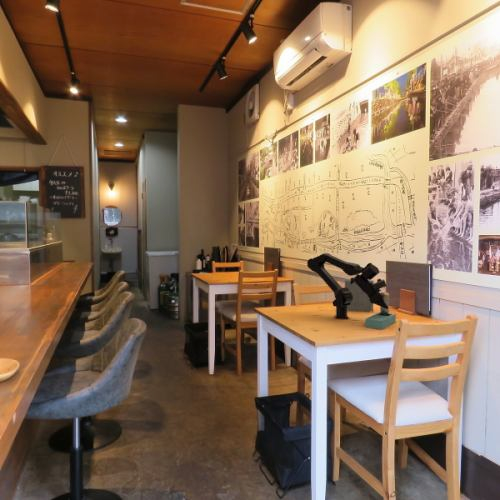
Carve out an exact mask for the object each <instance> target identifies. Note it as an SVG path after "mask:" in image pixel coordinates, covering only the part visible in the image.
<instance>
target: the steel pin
mask: <svg viewBox="0 0 500 500" xmlns="http://www.w3.org/2000/svg"><path fill="white" fill-rule="evenodd" d="M380 293H381V294H382V299H383V301H384V302H385V303H386V305H387V306H388V309H385V308H383V307H381V306H379V308H380V311H379V312H380V315H383V316H389V313H390V312H389V311H390V293H389V292H387V291H385V292H384V291H380Z"/></svg>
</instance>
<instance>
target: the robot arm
mask: <svg viewBox="0 0 500 500" xmlns="http://www.w3.org/2000/svg"><path fill="white" fill-rule="evenodd" d="M326 263H328V264H329V265H333V266H335V267H336V268H338V269H340V270H341V271H343V273H345V274H346V275H347V276H350V277H351V278H350V279H349V280H351V283H350V284H352V283H354V282H355V283H356V284H357V285H358V286H359V287H360V288H361V289H362V291H363V292H365V293H366V295H367V296H368V297H369V298H370V302H371V303H372V304H373V305H376V306H379V307H380V306H381V307H383V308H385V309H388V306H387V305H386V303H385V302H384V301H383V299H382V294H381V292H382V289H383V288H386V287H387V286H388V285H387V283H386V281H385V279H381V278H377V280H376V282H374V284H373V283H372V282H370V281H369V280H373V279H374V278H375V277H377V276H378V275H379V274H380V269H379V268H378V266H376V265H374V264H373V263H372V262H368V263H367V264H366V265H365V266H364V267H362V266H361V265H360V264H358V263H354V262H348V261H345V260H343V259H341V258H338V257H337V256H334V255H333V254H330V253H328V252H327V253H326V252H325V253H322V254H320V255H317V256H316V257H313V258H309V259H307V262H306V264H307V265H306V266H307V268H308V269H310V271H312V272H314V273H315V274H317V275H318V276H319V277H320V278H321V279H322V280H323V281H324V283H325V284H326V285H327V287H328V288H329V289H331V292H333V295H334V298H335V299H334V300H333V301H332V306H333V307H336V308H335V314H334V317H335V319H349V316H348V311H347V306H348V305H350V303H351V302H352V300H353V295H352V294H351V293H352V292H350V291H349V289H348V288H347V287H345V286H344V287H342V286H341V285H340V284H339V282H338V281H336V279H335V278H334V277H333V276H332V275H331V273H329V271H328V270H327V269H326V267H325V264H326ZM353 276H354V277H353Z"/></svg>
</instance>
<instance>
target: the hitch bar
mask: <svg viewBox="0 0 500 500" xmlns="http://www.w3.org/2000/svg"><path fill="white" fill-rule="evenodd" d="M364 319H365V320H364V321H365V322H364V323H365V325H364V326H365V328H369V329H375V330H377V329H378V330H384V329H386V328H387V327H389V326H391V325H392V324H395V323H396V322H397V314H396V313H392V312H389V316H383V315H380V311H379V312H376V313H375V314H372V315H370V316H368V317H366V318H364Z"/></svg>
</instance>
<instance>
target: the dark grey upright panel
mask: <svg viewBox="0 0 500 500" xmlns="http://www.w3.org/2000/svg"><path fill="white" fill-rule="evenodd" d="M369 281H370V282H372V283H373V284H374V283H375V282H374V281H375V280H373V279H371V280H369ZM350 283H351V280H350V279H345V280H344V287H347V288H348V289H349V291H350V292H352V293H351V294H352V295H353V300H352V302H351V303H350V305H348V306H347V312H351V311H352V312H367V311H373V312H374V304H372V303H371V302H370V298H369V297H368V296H367V295H366V293H365V292H363V291H362V289H361V288H360V287H359V286H358V285H357V284H356V283H355V282H354V283H352V284H350Z"/></svg>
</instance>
